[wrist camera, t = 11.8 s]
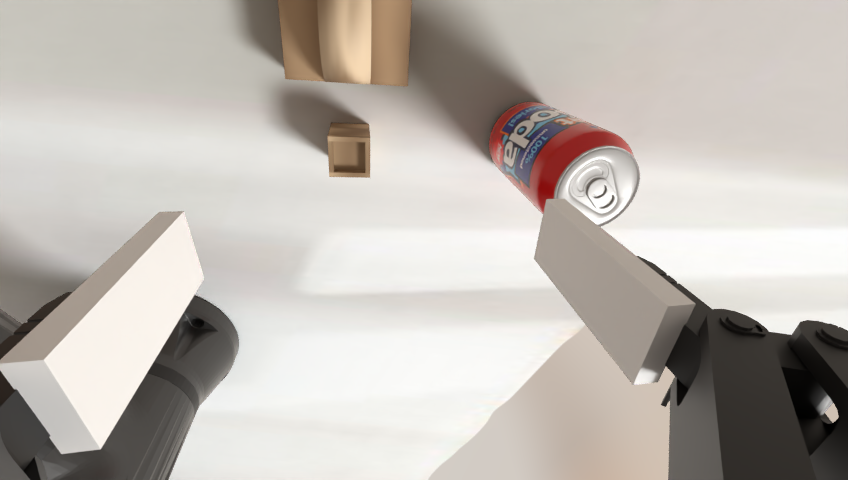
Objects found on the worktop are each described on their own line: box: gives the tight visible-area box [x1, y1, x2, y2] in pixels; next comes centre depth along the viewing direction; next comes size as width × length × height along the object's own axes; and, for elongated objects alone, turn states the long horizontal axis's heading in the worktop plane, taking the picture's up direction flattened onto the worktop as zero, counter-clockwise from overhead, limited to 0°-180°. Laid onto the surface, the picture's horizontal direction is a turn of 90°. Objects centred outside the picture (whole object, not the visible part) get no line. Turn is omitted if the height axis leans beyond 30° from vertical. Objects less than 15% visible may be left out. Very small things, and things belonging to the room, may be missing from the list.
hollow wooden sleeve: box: [327, 123, 370, 177], centre depth 35 cm, size 4×4×5 cm
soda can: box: [489, 102, 640, 227], centre depth 34 cm, size 8×8×15 cm
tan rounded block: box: [278, 0, 412, 86], centre depth 29 cm, size 10×8×8 cm
